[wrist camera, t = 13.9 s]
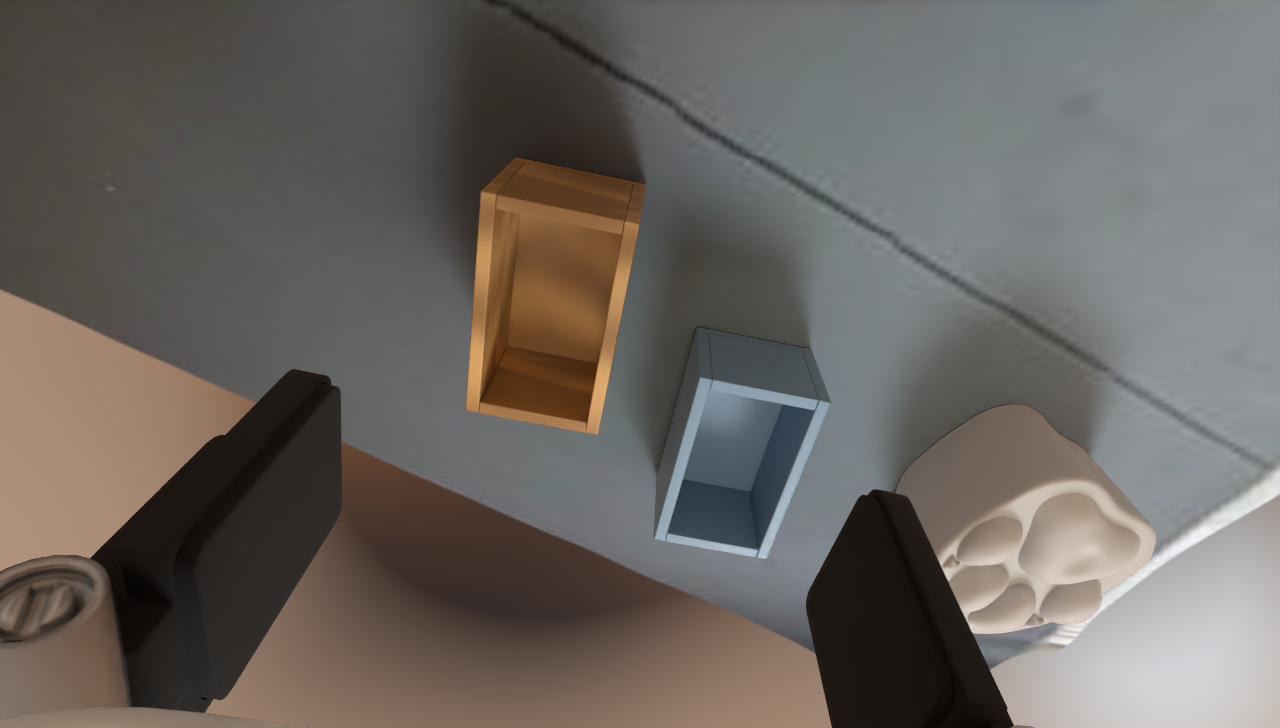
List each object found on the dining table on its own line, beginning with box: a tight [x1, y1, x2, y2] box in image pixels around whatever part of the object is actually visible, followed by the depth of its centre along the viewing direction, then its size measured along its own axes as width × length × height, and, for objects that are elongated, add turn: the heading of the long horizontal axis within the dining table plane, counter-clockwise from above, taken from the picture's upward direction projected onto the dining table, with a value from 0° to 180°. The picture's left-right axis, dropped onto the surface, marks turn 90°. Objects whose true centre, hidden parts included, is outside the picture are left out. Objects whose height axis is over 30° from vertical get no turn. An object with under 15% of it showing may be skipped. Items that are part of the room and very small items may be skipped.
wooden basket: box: [466, 157, 646, 435], centre depth 35 cm, size 12×7×7 cm, turn 169°
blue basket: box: [654, 327, 831, 559], centre depth 40 cm, size 12×7×6 cm, turn 169°
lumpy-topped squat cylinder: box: [895, 404, 1156, 634], centre depth 40 cm, size 10×13×9 cm
